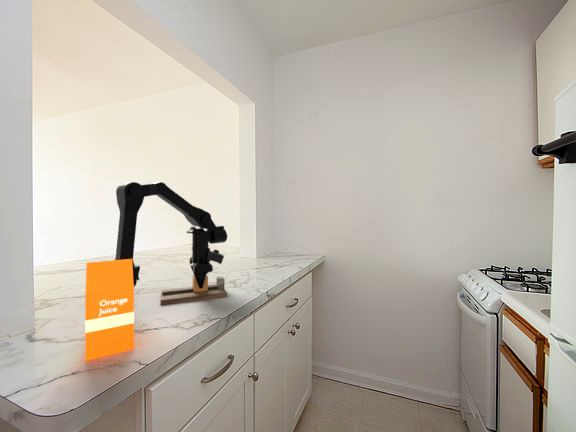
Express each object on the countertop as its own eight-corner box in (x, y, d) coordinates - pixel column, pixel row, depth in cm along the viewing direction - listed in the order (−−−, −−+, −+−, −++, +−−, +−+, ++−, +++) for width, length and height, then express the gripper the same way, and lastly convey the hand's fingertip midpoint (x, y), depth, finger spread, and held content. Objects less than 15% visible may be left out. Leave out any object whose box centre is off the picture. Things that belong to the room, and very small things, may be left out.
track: (226, 296, 96) (227, 281, 96) (160, 304, 87) (160, 288, 87) (220, 287, 107) (220, 274, 107) (160, 294, 97) (160, 279, 97)
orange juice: (87, 345, 60) (86, 259, 60) (131, 335, 66) (131, 256, 65) (85, 361, 54) (84, 265, 54) (134, 349, 59) (134, 261, 59)
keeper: (207, 290, 97) (208, 276, 97) (193, 292, 95) (193, 278, 95) (206, 287, 101) (206, 273, 101) (192, 288, 99) (192, 275, 99)
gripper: (227, 247, 92) (227, 290, 93) (217, 241, 109) (217, 278, 110) (194, 248, 88) (194, 294, 88) (189, 242, 105) (189, 281, 105)
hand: (200, 286), depth 98 cm, fingers closed on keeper, 4 cm apart
